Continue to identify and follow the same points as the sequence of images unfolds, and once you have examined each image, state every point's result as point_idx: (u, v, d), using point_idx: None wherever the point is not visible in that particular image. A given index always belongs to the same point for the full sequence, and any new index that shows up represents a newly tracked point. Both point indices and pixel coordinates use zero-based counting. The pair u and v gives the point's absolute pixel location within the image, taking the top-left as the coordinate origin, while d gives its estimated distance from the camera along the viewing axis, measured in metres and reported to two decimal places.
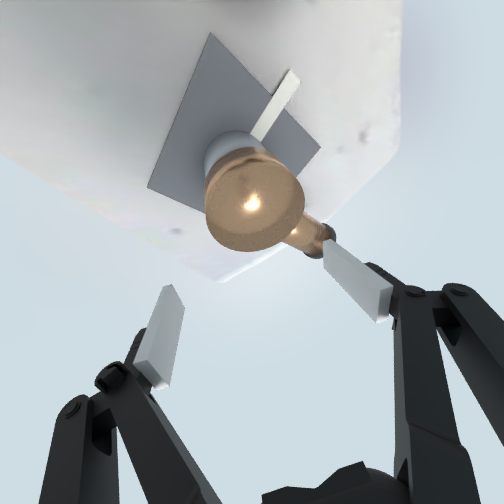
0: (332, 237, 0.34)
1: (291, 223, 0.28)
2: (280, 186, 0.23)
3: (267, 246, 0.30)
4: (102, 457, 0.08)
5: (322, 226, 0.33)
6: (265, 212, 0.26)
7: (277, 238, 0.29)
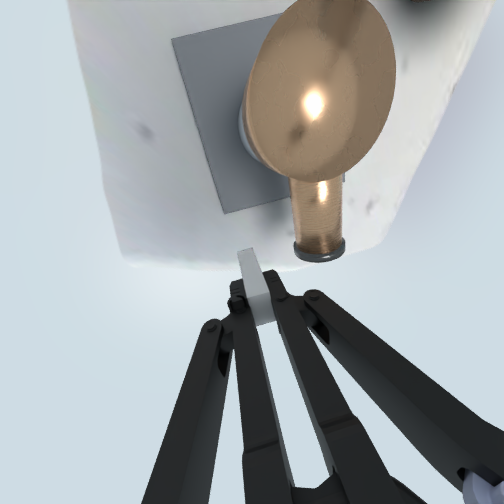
0: (343, 244, 0.25)
1: (340, 163, 0.20)
2: (375, 89, 0.17)
3: (291, 173, 0.19)
4: (220, 376, 0.10)
5: None
6: (335, 108, 0.17)
7: (310, 172, 0.20)
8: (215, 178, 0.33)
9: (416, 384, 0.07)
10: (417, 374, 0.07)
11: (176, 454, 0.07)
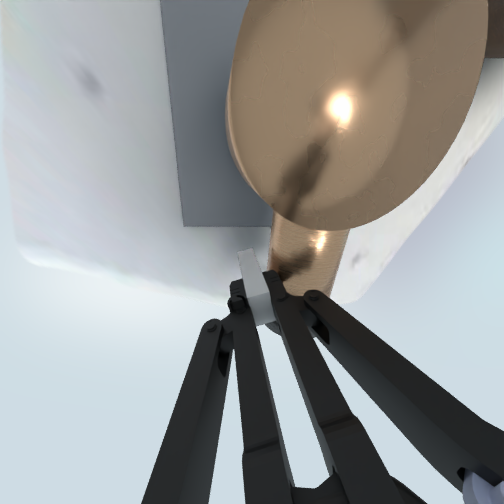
0: None
1: (355, 212, 0.12)
2: (437, 116, 0.11)
3: (279, 206, 0.11)
4: (220, 376, 0.10)
5: None
6: (373, 124, 0.10)
7: (309, 212, 0.12)
8: (181, 177, 0.25)
9: (416, 384, 0.07)
10: (417, 375, 0.07)
11: (176, 454, 0.07)
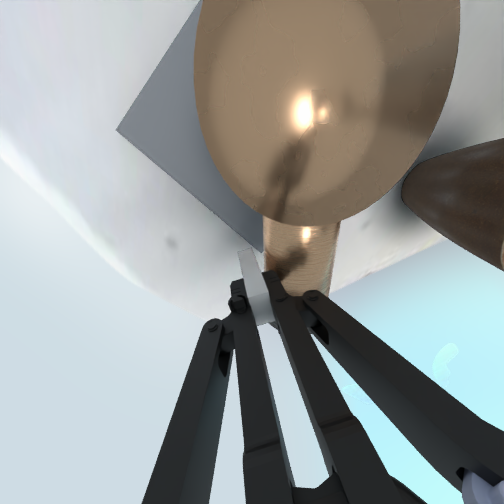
0: None
1: (341, 204, 0.12)
2: (416, 96, 0.10)
3: (261, 207, 0.12)
4: (221, 376, 0.10)
5: None
6: (347, 114, 0.10)
7: (293, 210, 0.12)
8: (151, 81, 0.20)
9: (415, 384, 0.07)
10: (416, 374, 0.07)
11: (177, 454, 0.07)
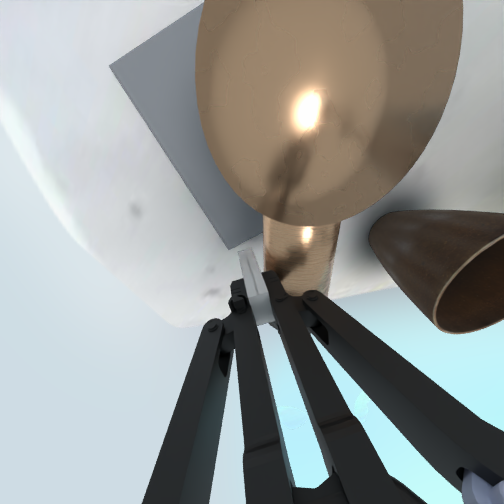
0: None
1: (341, 205, 0.12)
2: (418, 97, 0.10)
3: (261, 207, 0.12)
4: (221, 376, 0.10)
5: None
6: (348, 114, 0.10)
7: (293, 210, 0.12)
8: (165, 33, 0.19)
9: (415, 384, 0.07)
10: (416, 375, 0.07)
11: (177, 454, 0.07)
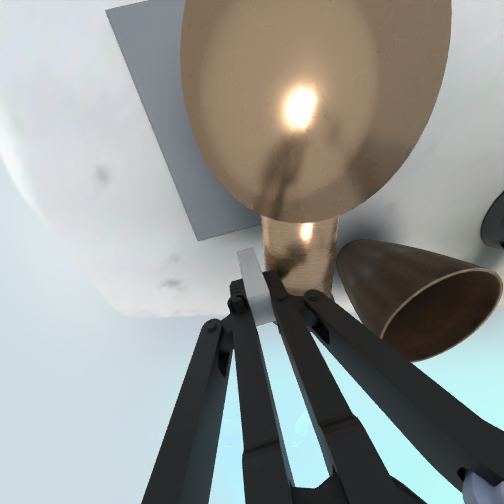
0: None
1: (338, 199, 0.12)
2: (410, 84, 0.10)
3: (258, 206, 0.11)
4: (220, 376, 0.10)
5: None
6: (339, 107, 0.10)
7: (290, 207, 0.12)
8: None
9: (416, 384, 0.07)
10: (417, 374, 0.07)
11: (176, 454, 0.07)
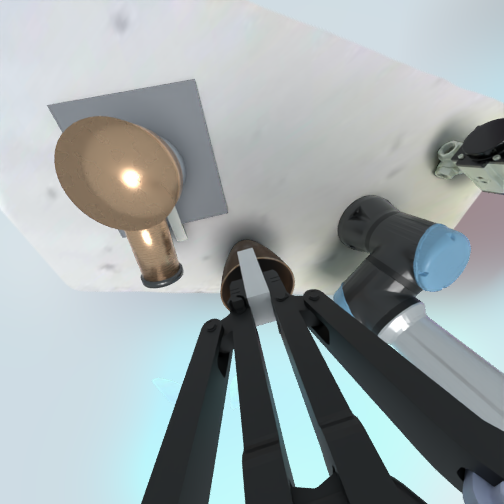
0: (175, 275, 0.33)
1: (147, 220, 0.27)
2: (161, 176, 0.25)
3: (106, 223, 0.26)
4: (220, 376, 0.10)
5: (175, 259, 0.33)
6: (131, 185, 0.24)
7: (123, 223, 0.26)
8: (89, 100, 0.32)
9: (416, 384, 0.07)
10: (417, 374, 0.07)
11: (176, 454, 0.07)
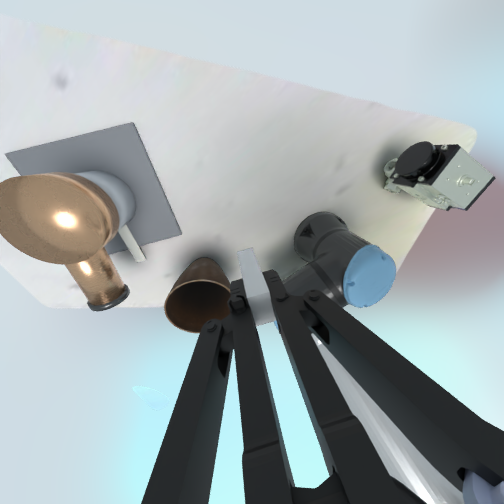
0: (117, 298, 0.36)
1: (79, 255, 0.31)
2: (84, 219, 0.28)
3: (43, 259, 0.30)
4: (220, 376, 0.10)
5: (117, 284, 0.36)
6: (59, 227, 0.28)
7: (58, 259, 0.30)
8: (40, 147, 0.36)
9: (416, 384, 0.07)
10: (417, 374, 0.07)
11: (176, 454, 0.07)
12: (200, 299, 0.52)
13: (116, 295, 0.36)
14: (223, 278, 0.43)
